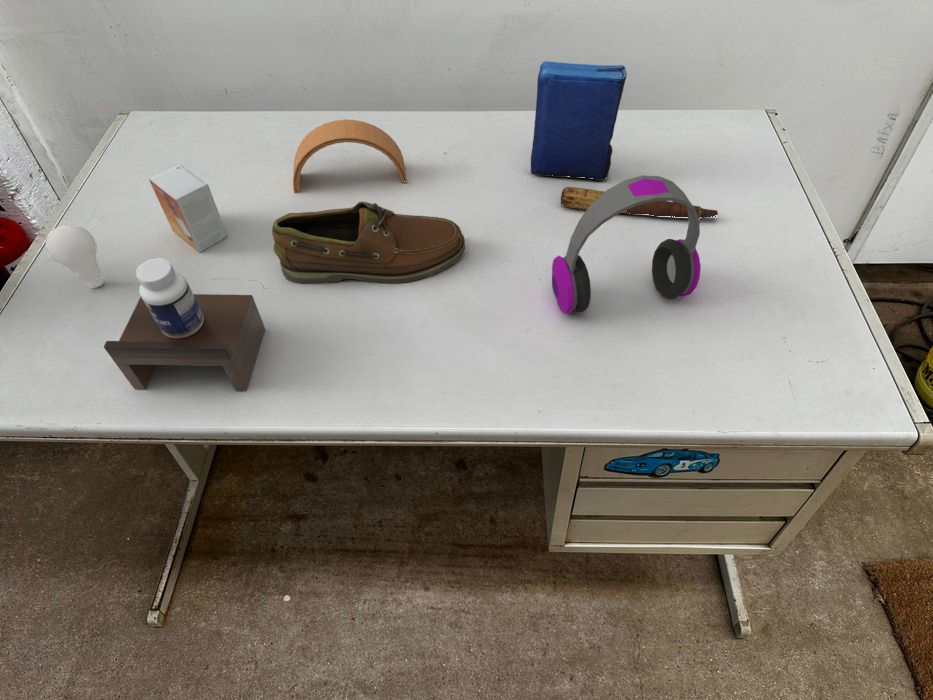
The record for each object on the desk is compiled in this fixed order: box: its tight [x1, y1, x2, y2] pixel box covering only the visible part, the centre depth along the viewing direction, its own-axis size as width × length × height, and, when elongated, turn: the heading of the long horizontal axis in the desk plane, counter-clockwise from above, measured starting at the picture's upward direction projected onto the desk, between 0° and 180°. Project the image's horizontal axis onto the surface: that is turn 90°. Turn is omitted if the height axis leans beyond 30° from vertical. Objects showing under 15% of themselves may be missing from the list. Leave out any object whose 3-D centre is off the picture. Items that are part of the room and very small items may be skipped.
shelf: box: [103, 293, 266, 392], centre depth 81 cm, size 11×15×9 cm
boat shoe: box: [271, 201, 466, 284], centre depth 92 cm, size 10×29×10 cm, turn 102°
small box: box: [148, 163, 228, 253], centre depth 96 cm, size 8×6×10 cm
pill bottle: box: [135, 257, 204, 338], centre depth 75 cm, size 5×5×10 cm
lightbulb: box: [45, 223, 105, 289], centre depth 89 cm, size 6×6×11 cm
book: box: [530, 61, 628, 180], centre depth 103 cm, size 14×5×20 cm, turn 82°
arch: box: [292, 119, 408, 194], centre depth 106 cm, size 6×20×10 cm, turn 98°
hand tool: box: [560, 186, 719, 219], centre depth 103 cm, size 4×26×3 cm, turn 79°
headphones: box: [551, 175, 702, 315], centre depth 84 cm, size 21×9×20 cm, turn 101°
